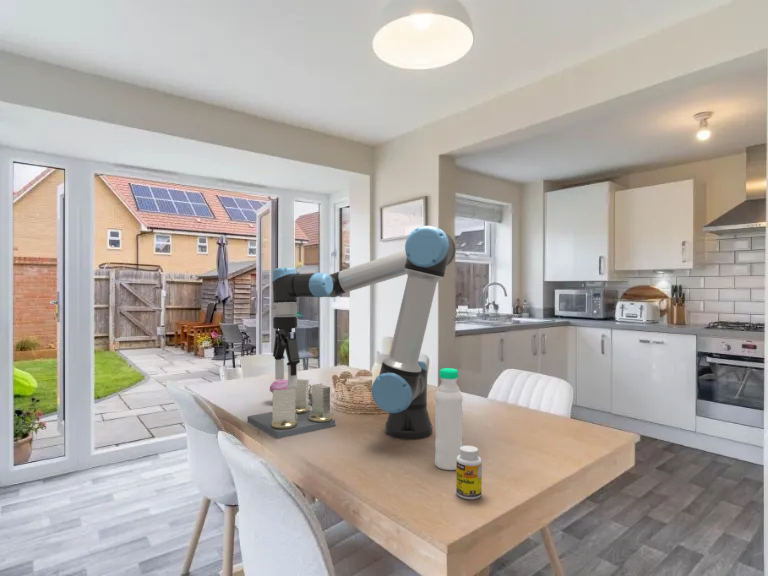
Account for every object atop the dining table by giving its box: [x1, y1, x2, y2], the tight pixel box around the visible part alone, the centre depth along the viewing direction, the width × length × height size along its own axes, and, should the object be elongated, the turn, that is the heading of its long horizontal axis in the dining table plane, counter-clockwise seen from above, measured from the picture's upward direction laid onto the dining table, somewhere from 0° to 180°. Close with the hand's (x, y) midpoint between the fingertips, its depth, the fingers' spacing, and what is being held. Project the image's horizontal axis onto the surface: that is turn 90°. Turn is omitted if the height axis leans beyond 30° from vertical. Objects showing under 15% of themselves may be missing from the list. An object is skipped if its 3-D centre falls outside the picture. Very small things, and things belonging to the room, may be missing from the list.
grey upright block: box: [309, 383, 334, 422], centre depth 149 cm, size 8×8×11 cm
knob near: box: [271, 390, 297, 429], centre depth 142 cm, size 8×8×11 cm
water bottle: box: [434, 367, 464, 471], centre depth 114 cm, size 7×7×25 cm
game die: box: [308, 383, 323, 407], centre depth 178 cm, size 9×8×10 cm
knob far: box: [287, 378, 310, 414], centre depth 159 cm, size 8×8×11 cm
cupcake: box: [269, 379, 288, 394], centre depth 178 cm, size 9×9×10 cm
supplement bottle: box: [455, 445, 483, 500], centre depth 98 cm, size 6×6×10 cm
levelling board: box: [246, 409, 336, 440], centre depth 151 cm, size 23×21×4 cm
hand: (285, 382), depth 142 cm, fingers open, 13 cm apart
